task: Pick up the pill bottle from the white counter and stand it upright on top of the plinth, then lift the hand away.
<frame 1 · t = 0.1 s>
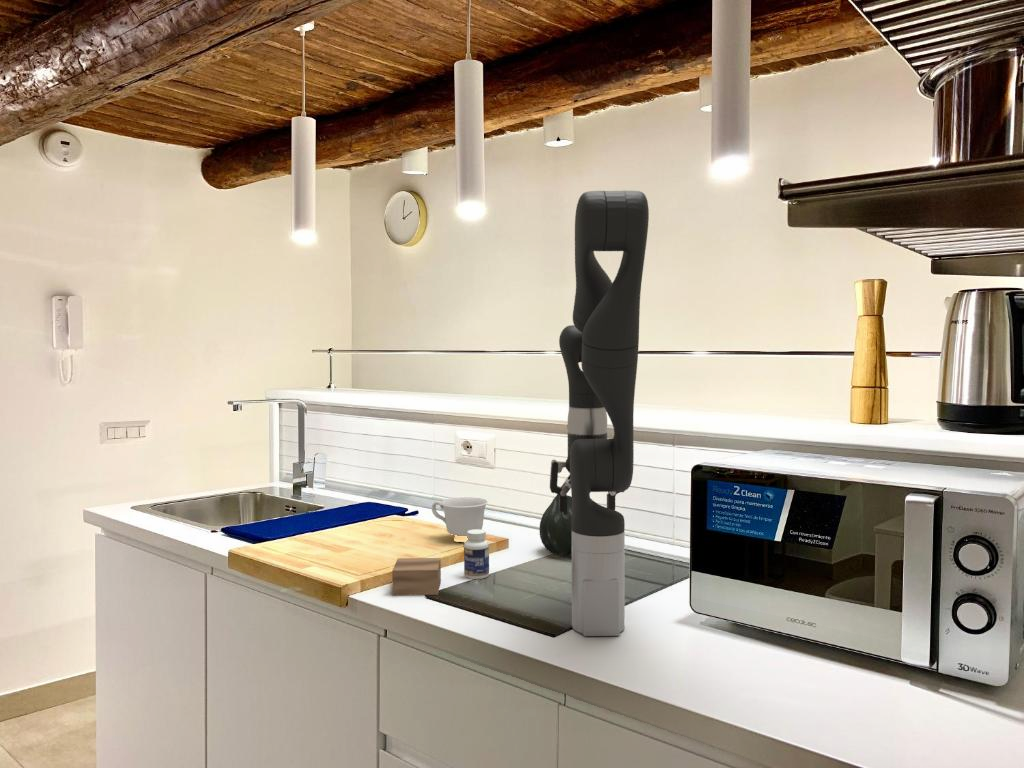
hand: (587, 514, 150), 17 cm above the worktop, tool pointing down, fingers open, 8 cm apart
plinth: (417, 588, 161), on the worktop
pill bottle: (476, 577, 169), on the worktop
teacup: (459, 540, 201), on the worktop
squash: (570, 553, 188), on the worktop
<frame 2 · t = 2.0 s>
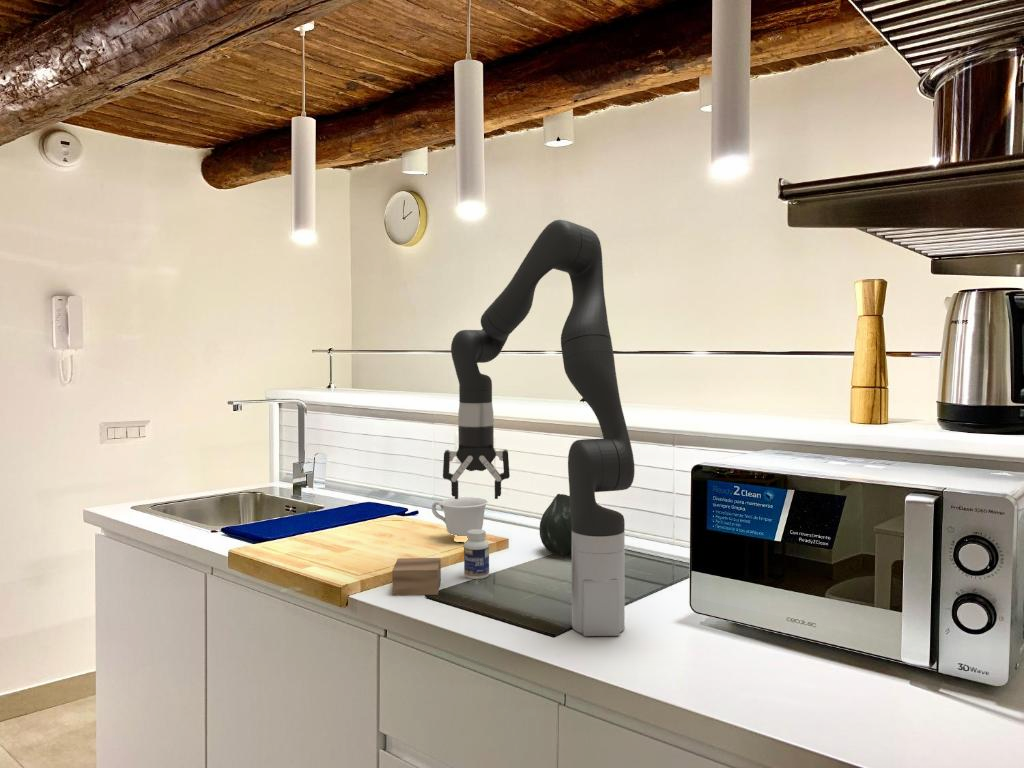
hand: (476, 498, 168), 17 cm above the worktop, tool pointing down, fingers open, 8 cm apart
nothing on the worktop moved.
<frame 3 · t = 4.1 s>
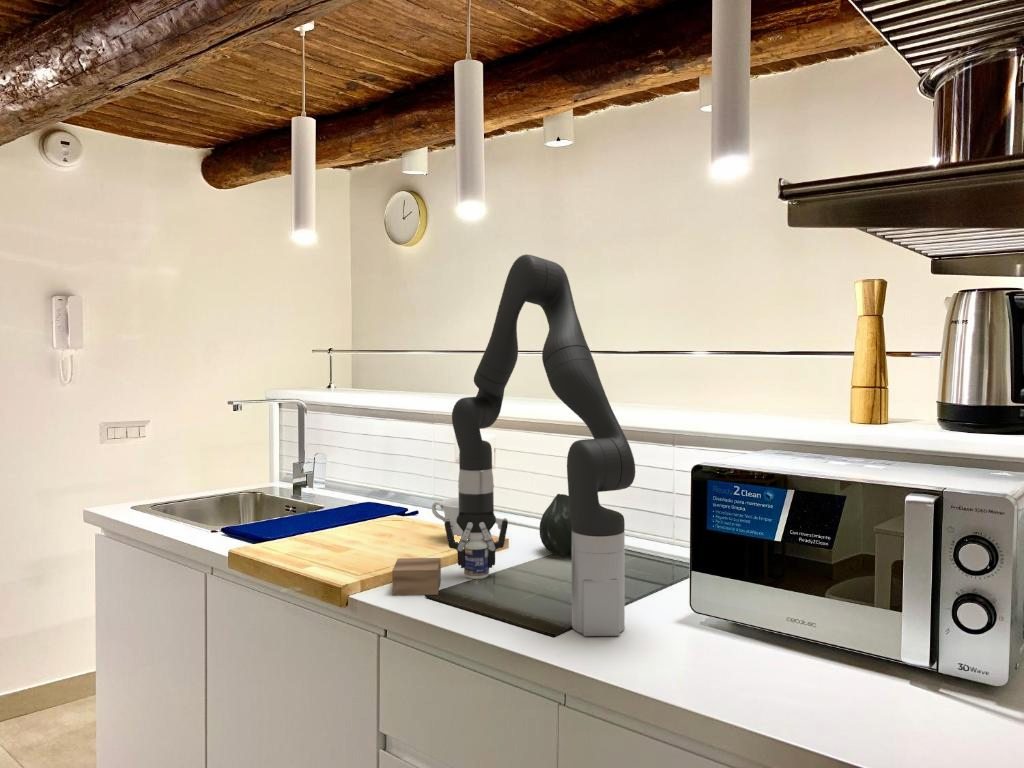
hand: (476, 566, 169), 2 cm above the worktop, tool pointing down, fingers closed on pill bottle, 5 cm apart
pill bottle: (476, 576, 169), on the worktop, touching gripper
everything else where it was.
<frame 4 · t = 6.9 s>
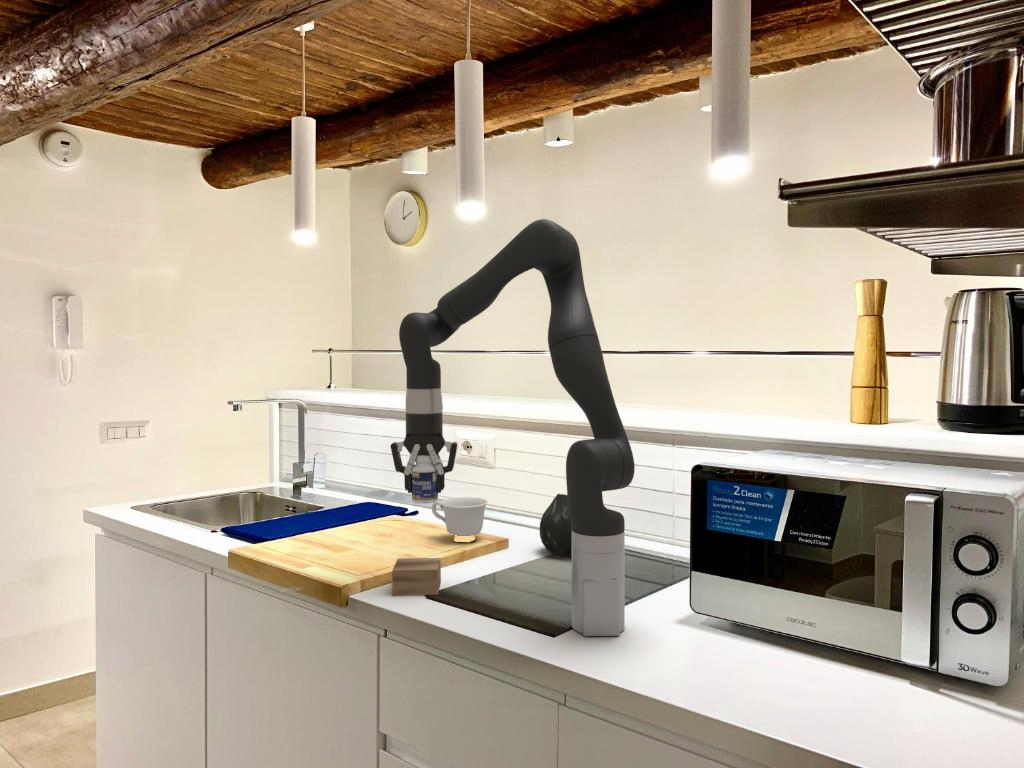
hand: (424, 492, 161), 20 cm above the worktop, tool pointing down, fingers closed on pill bottle, 5 cm apart
pill bottle: (425, 502, 162), point 17 cm above the worktop, touching gripper
everything else where it was.
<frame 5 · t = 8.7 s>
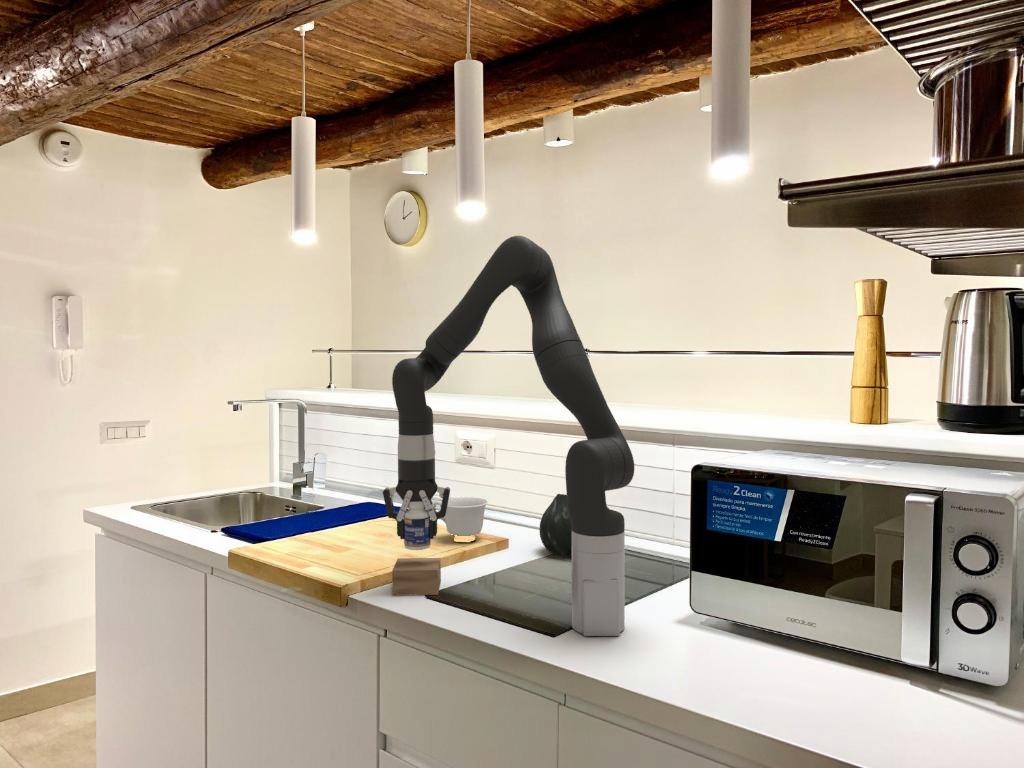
hand: (417, 537, 160), 10 cm above the worktop, tool pointing down, fingers closed on pill bottle, 5 cm apart
pill bottle: (417, 548, 161), point 8 cm above the worktop, touching gripper
everything else where it was.
when the fingers open (8 cm above the worktop, at t = 10.1 s): pill bottle drops 1 cm, resting on plinth.
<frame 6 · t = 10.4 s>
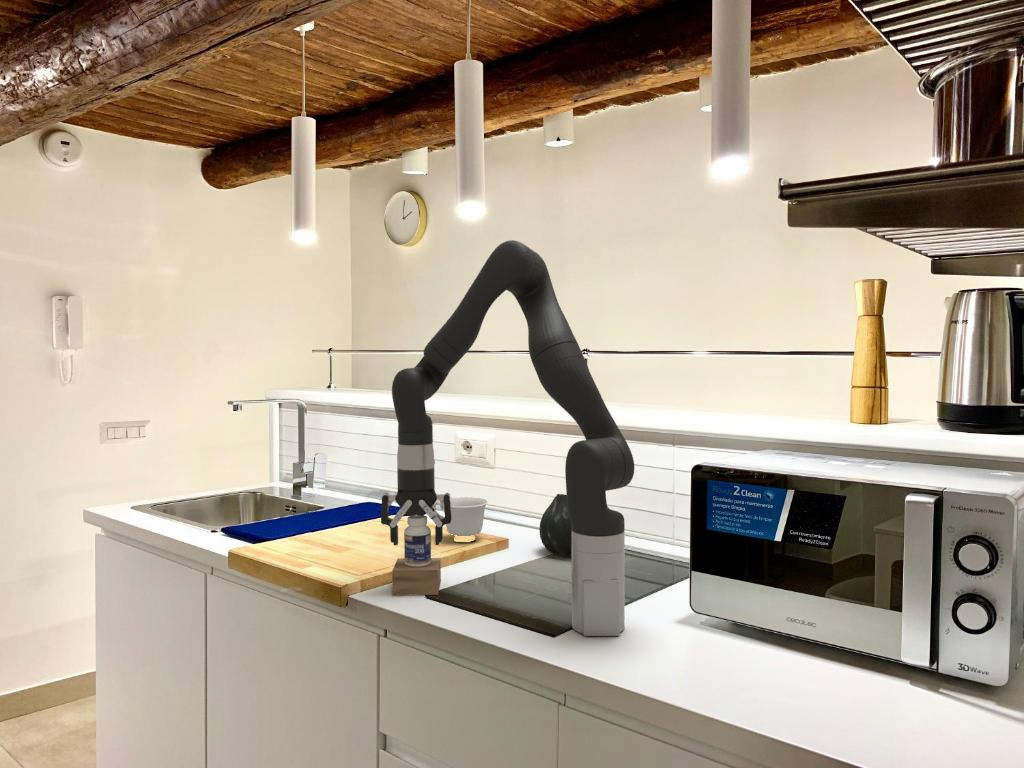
hand: (416, 544, 160), 9 cm above the worktop, tool pointing down, fingers open, 8 cm apart
pill bottle: (417, 564, 161), point 5 cm above the worktop, touching plinth
everything else where it was.
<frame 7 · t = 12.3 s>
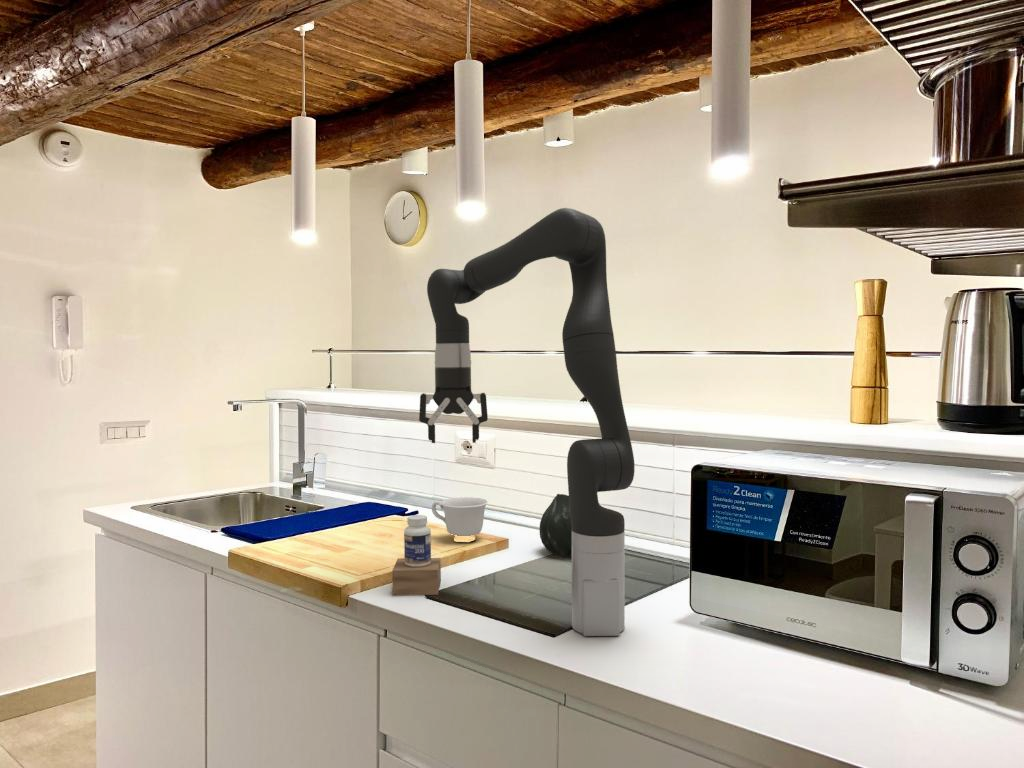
hand: (453, 442, 165), 29 cm above the worktop, tool pointing down, fingers open, 8 cm apart
nothing on the worktop moved.
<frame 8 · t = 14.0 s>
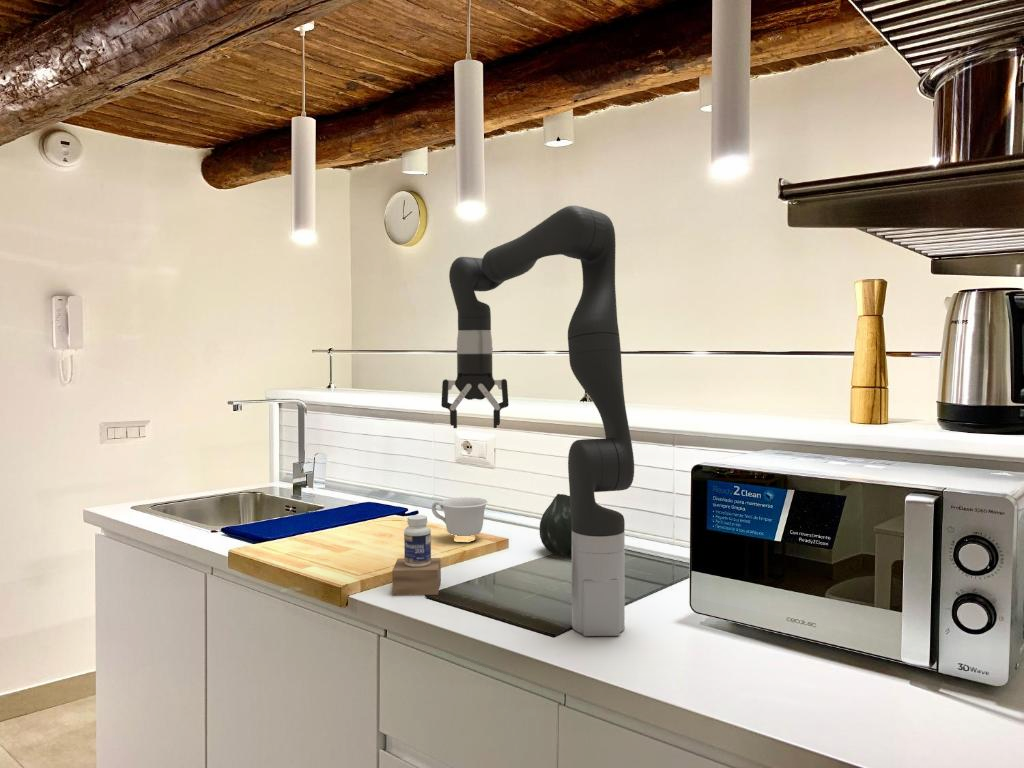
hand: (475, 427, 168), 32 cm above the worktop, tool pointing down, fingers open, 8 cm apart
nothing on the worktop moved.
at the end: pill bottle 0.1 cm off-centre on the plinth, point 4.8 cm above the plinth's base; pill bottle tilted 0°; the gripper is holding nothing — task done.
